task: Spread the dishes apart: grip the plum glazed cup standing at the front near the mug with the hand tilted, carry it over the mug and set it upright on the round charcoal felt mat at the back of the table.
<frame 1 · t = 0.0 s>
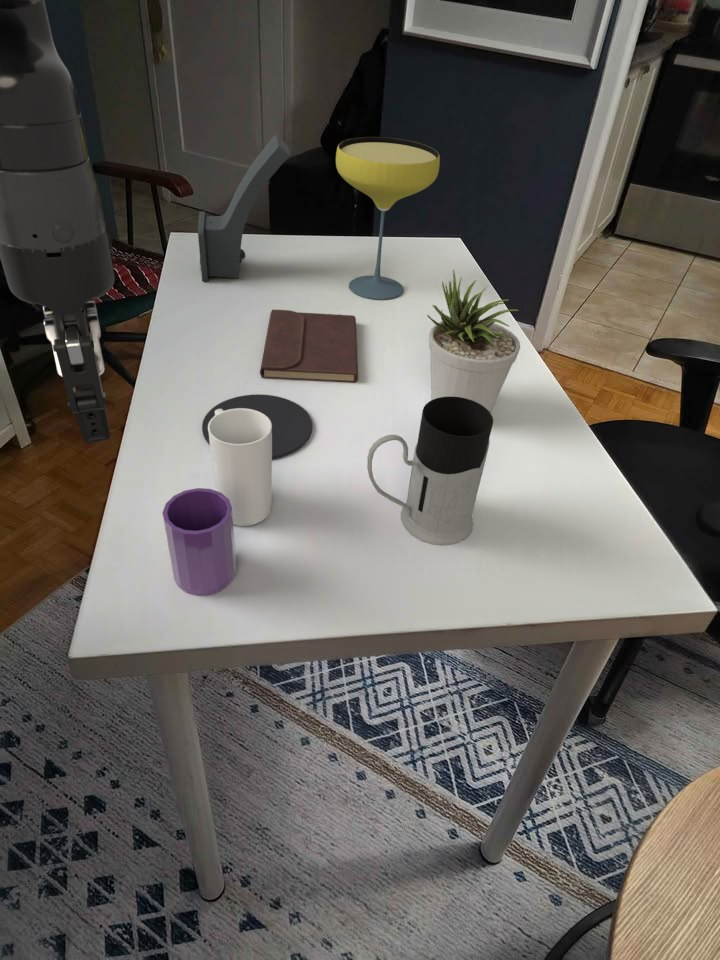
hand: (93, 411, 57), 19 cm above the table, tool pointing down, fingers open, 8 cm apart
potted plant: (458, 407, 97), on the table
mat: (257, 426, 89), on the table
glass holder: (416, 524, 77), on the table
cup: (205, 571, 69), on the table
notebook: (311, 350, 107), on the table
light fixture: (245, 272, 129), on the table
cocktail glass: (376, 289, 127), on the table
mug: (238, 501, 78), on the table
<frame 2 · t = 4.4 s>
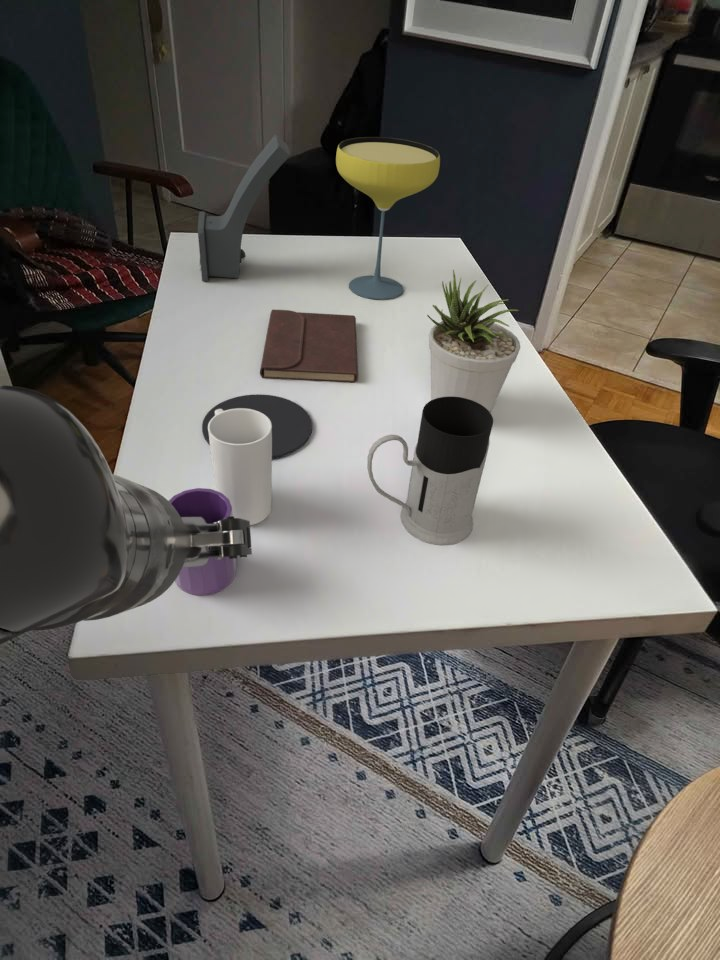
hand: (163, 546, 51), 15 cm above the table, tool tilted 45°, fingers open, 8 cm apart
nothing on the table moved.
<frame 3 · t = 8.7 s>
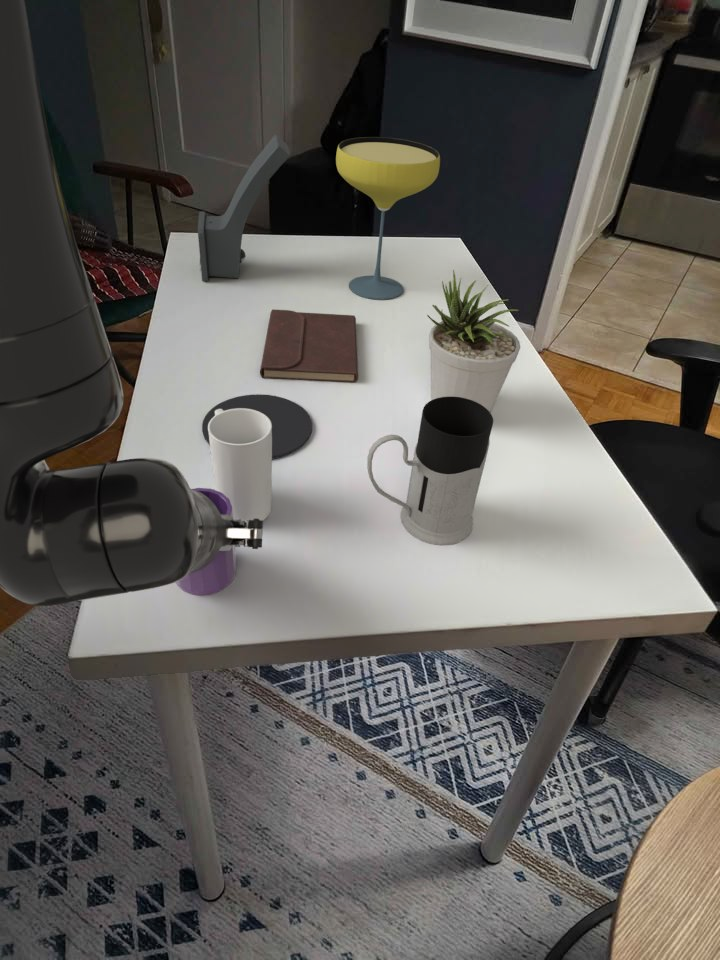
hand: (204, 531, 67), 4 cm above the table, tool tilted 45°, fingers closed on cup, 6 cm apart
cup: (205, 571, 69), on the table, touching gripper
everything else where it was.
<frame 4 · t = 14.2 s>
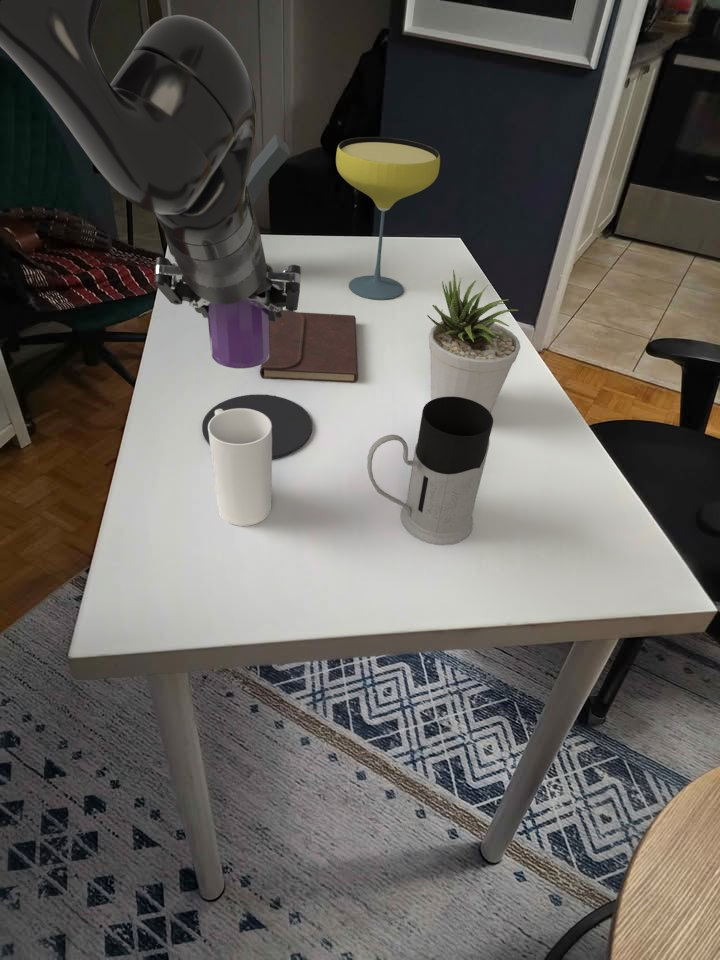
hand: (240, 311, 71), 20 cm above the table, tool tilted 45°, fingers closed on cup, 6 cm apart
cup: (241, 353, 73), point 16 cm above the table, touching gripper
everything else where it was.
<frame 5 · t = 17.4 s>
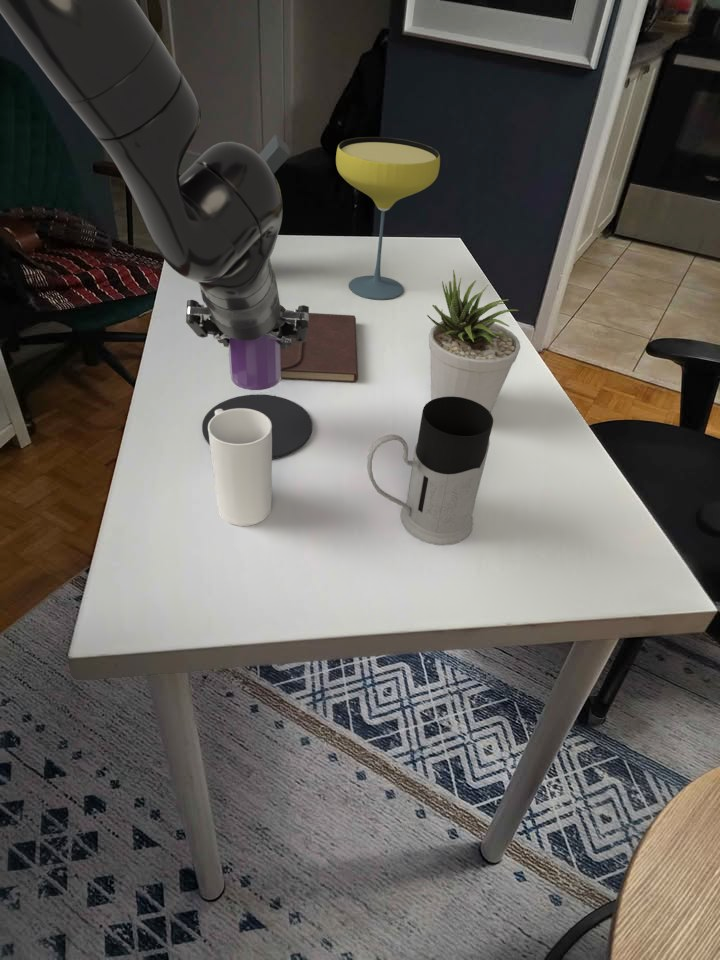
hand: (256, 340, 83), 12 cm above the table, tool tilted 45°, fingers closed on cup, 6 cm apart
cup: (256, 376, 84), point 8 cm above the table, touching gripper
everything else where it was.
when the fingers open (5 cm above the table, at t = 20.1 s): cup stays where it is, resting on mat.
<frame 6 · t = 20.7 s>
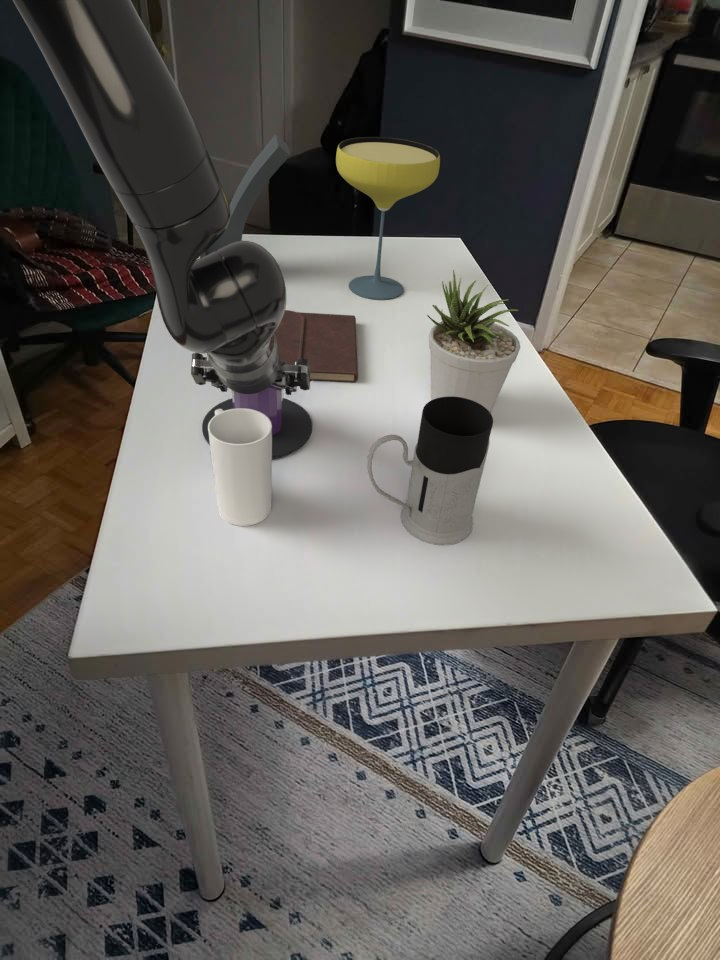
hand: (257, 385, 87), 6 cm above the table, tool tilted 45°, fingers open, 8 cm apart
cup: (258, 424, 89), resting on mat
everything else where it was.
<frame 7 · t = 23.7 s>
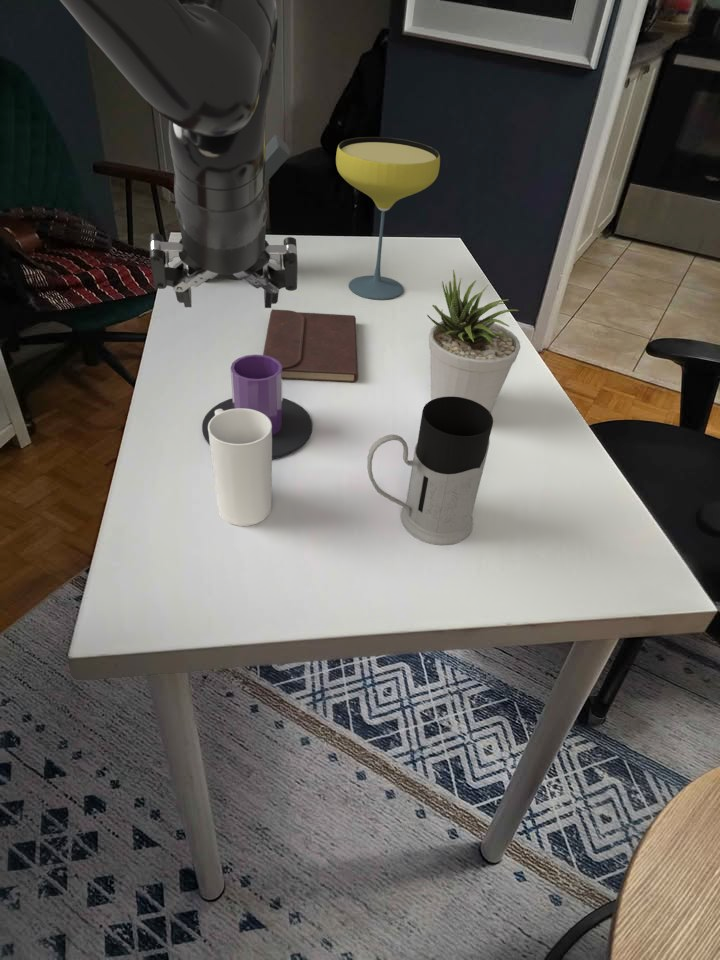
hand: (228, 300, 71), 21 cm above the table, tool tilted 35°, fingers open, 8 cm apart
nothing on the table moved.
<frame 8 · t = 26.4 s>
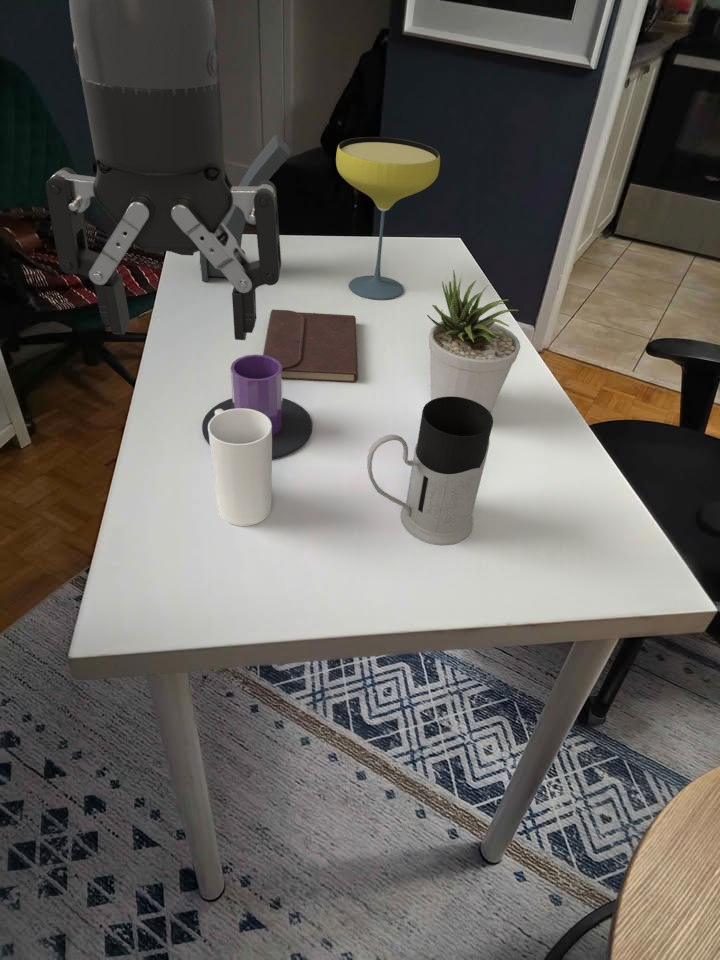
hand: (181, 332, 47), 30 cm above the table, tool pointing down, fingers open, 8 cm apart
nothing on the table moved.
at the end: cup inside the target area on the mat (0.1 cm from its centre), point 0.5 cm above the mat's base; cup tilted 0°; mug moved 0.2 cm from its start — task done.
